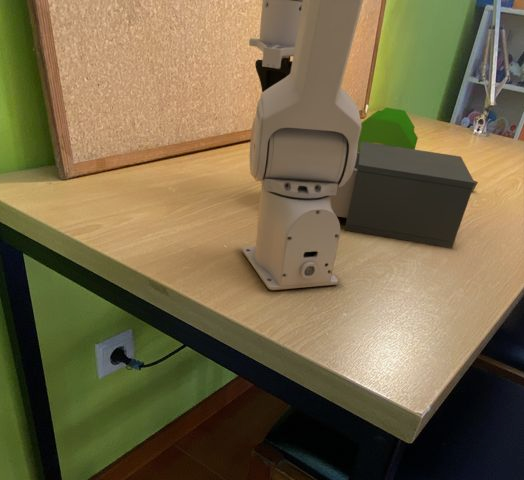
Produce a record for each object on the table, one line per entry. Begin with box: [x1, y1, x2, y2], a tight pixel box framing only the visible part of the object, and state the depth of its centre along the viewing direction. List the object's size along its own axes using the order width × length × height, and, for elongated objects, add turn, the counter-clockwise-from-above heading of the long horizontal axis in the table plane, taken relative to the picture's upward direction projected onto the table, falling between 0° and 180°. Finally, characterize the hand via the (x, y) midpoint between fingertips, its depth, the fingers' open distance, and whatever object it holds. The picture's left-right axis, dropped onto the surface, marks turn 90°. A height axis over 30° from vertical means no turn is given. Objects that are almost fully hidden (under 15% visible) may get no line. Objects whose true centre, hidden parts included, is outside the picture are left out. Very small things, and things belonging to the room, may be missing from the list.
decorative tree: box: [357, 107, 419, 152], centre depth 86 cm, size 11×12×30 cm
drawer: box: [331, 151, 359, 219], centre depth 70 cm, size 18×11×7 cm, turn 80°
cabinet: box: [344, 141, 475, 249], centre depth 69 cm, size 14×12×9 cm
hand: (273, 123), depth 67 cm, fingers closed
